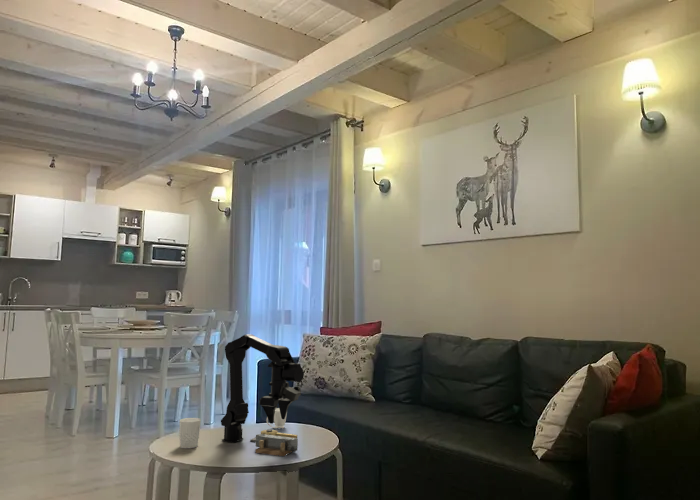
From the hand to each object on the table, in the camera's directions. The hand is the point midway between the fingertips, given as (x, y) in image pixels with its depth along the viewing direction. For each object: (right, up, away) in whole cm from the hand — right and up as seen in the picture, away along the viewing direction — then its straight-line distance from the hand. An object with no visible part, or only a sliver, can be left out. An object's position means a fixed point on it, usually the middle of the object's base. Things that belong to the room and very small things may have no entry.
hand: (277, 421), depth 202 cm
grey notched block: (0, -10, -2) cm, 10 cm away
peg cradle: (0, -11, -2) cm, 11 cm away
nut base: (-6, -13, +15) cm, 20 cm away
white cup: (-35, -11, +3) cm, 37 cm away
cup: (-6, -15, +37) cm, 41 cm away
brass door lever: (-1, -12, +13) cm, 18 cm away
